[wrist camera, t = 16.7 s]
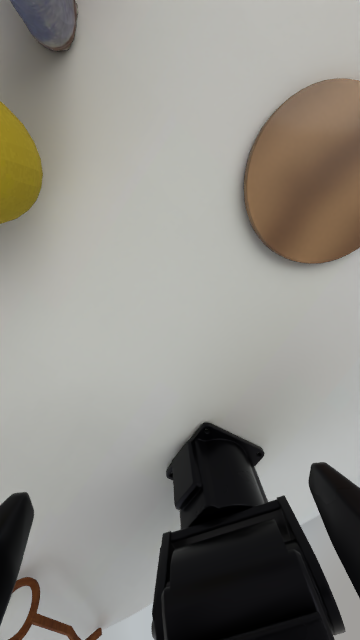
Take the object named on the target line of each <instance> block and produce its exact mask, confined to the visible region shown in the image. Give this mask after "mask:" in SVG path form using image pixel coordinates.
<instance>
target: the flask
mask: <svg viewBox="0 0 360 640" xmlns="http://www.w3.org/2000/svg"><path fill="white" fill-rule="evenodd" d="M10 1H11V3H12V4H13V6H14V8H15V9H16V11H17V12H18V13H19V15H20V16H21V18H22V19H23V21H24V23H25V24H26V26H27V28H28V29H29V31H30V32H31V34H32V35H33V36H34V38H35V39H36V40H37V41H38V42H39V43H40V44H42V45H43V46H45V47H46V48H48V49H50V50H55V51H59V50H68V49H69V48H70V45H71V43H72V41H73V39H74V36H75V30H76V20H77V15H78V10H77V9H78V6H77V3H75V0H10Z"/></svg>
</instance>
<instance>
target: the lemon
mask: <svg viewBox="0 0 360 640" xmlns="http://www.w3.org/2000/svg"><path fill="white" fill-rule="evenodd" d="M42 176H43V173H42V165H41V159H40V156H39V153H38V151H37V148H36V145H35V143H34V141H33V140H32V138H31V136H30V135H29V133H28V131H27V130H26V128H25V127H24V125H23V124H22V123H21V122H20V120H19V119H18V118H17V117H16V116H15V115H14V114H13V113H12V112H11V111H10V110H9V109H8V108H7V107H6V106H5V105H4V104H3V103H2V102H1V101H0V224H2V223H5V222H8V221H11V220H14V219H16V218H18V217H20V216H21V215H22V214H24V213H25V212H27V211H28V210H29V209H30V208H31V207H32V205H33V204H34V203H35V201H36V200H37V198H38V195H39V192H40V190H41V186H42Z"/></svg>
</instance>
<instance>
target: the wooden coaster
mask: <svg viewBox="0 0 360 640" xmlns="http://www.w3.org/2000/svg"><path fill="white" fill-rule="evenodd" d="M244 199H245V205H246V211H247V214H248V217H249V220H250V222H251V225H252V227H253V229H254V231H255V232H256V234H257V235H258V237H259V238H260V239H261V241H262V242H263V243H264V244H265V245H266V246H267V247H268V248H270V249H271V250H272V251H273V252H275V253H277V254H278V255H280V256H282V257H284V258H287V259H289V260H292V261H296V262H300V263H310V264H311V263H324V262H329V261H332V260H336V259H339V258H341V257H343V256H346V255H348V254H350V253H351V252H353V251H355V250H356V249H358V248H359V247H360V81H358V80H352V79H330V80H324V81H321V82H318V83H315V84H312V85H310V86H308V87H306V88H304V89H302V90H300V91H299V92H297V93H296V94H294V95H293V96H291V97H290V98H289V99H288V100H287V101H285V102H284V103H283V104H282V105H281V106H280V107H279V108H278V109H277V110H276V111H275V112H274V113H273V114H272V115H271V116H270V118H269V119H268V120H267V122H266V123H265V124H264V126H263V127H262V129H261V130H260V132H259V134H258V136H257V138H256V139H255V141H254V144H253V146H252V149H251V151H250V154H249V158H248V161H247V165H246V171H245V177H244Z"/></svg>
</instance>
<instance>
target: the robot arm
mask: <svg viewBox="0 0 360 640" xmlns="http://www.w3.org/2000/svg"><path fill="white" fill-rule="evenodd" d="M206 428H209V429H207V430H205V429H206ZM263 456H264V451H263V449H262V448H261V447H259V446H257V445H255V444H253V443H251V442H249V441H247V440H244V439H242V438H240V437H238V436H236V435H234V434H232V433H230V432H228V431H226V430H223V429H221V428H219V427H217V426H215V425H213V424H211V423H208V422H207V423H203V424H202V425H201V426H200V428H199V429H198V430H197V431H196V433H195V434H194V435H193V437H192V438H191V439H190V440H189V441H188V442H187V443H186V444H185V445H184V446H183V448H182V449H181V450H180V452H179V453H178V454H177V455H176V457H175V458H174V459H173V461H172V463H171V465H170V466H169V467H168V469H167V470H166V475H167V478H169V479H171V480H173V484H174V501H175V507H176V509H179V510H180V522H181V530H178V531H175V532H171V531H170V532H166V533H163V537H162V545H161V548H160V555H159V563H158V570H157V578H156V586H155V594H154V602H153V610H152V616H153V621H152V636H153V638H154V639H155V640H334V637H333V635H337V634H340V633H344V632H345V627H344V624H343V621H342V618H341V615H340V612H339V610H338V607H337V605H336V602H335V599H334V597H333V595H332V592H331V590H330V588H329V585H328V583H327V580H326V578H325V576H324V573H323V571H322V569H321V567H320V564H319V563H318V560H317V558H316V556H315V554H314V552H313V550H312V548H311V546H310V544H309V542H308V540H307V538H306V536H305V534H304V533H303V530H302V529H301V527H300V525H299V523H298V521H297V519H296V517H295V515H294V513H293V511H292V509H291V507H290V505H289V503H288V501H287V500H286V498H285V496H281V497H278V498H277V500H274V501H270V502H268V500H267V498H266V495H265V493H264V490H263V488H262V485H261V483H260V480H259V477H258V475H257V472H256V470H255V467H254V466H255V465H256V464H257V463H258V462H259V461H260V460H261V459H262V458H263ZM309 487H310V490H311V493H312V495H313V498H314V500H315V503H316V505H317V508H318V510H319V513H320V515H321V517H322V520H323V523H324V525H325V528H326V530H327V532H328V535H329V537H330V540H331V542H332V544H333V546H334V548H335V550H336V552H337V554H338V556H339V558H340V560H341V562H342V564H343V566H344V568H345V570H346V572H347V574H348V576H349V578H350V580H351V582H352V584H353V586H354V588H355V590H356V592H357V594H358V596H359V598H360V488H359V487H358V486H356V485H355V484H354V483H352V482H351V481H350V480H348V479H347V478H346V477H344V476H343V475H342V474H340V473H339V472H338V471H336V470H335V469H334V468H332V467H331V466H330V465H328V464H327V463H324V462H320V463H313V464H312V465H311V470H310V476H309ZM33 518H34V509H33V506H32V503H31V500H30V497H29V494H28V493H27V492H22V493H14V494H12V495H11V496H10V497H8V498H7V499H6V500H5V501H4V502H3V503H2V504H1V505H0V625H1V622H2V619H3V617H4V614H5V611H6V608H7V606H8V603H9V600H10V597H11V595H12V592H13V589H14V586H15V583H16V580H17V577H18V573H19V570H20V566H21V562H22V559H23V555H24V551H25V548H26V544H27V540H28V537H29V533H30V529H31V526H32V522H33Z"/></svg>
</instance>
